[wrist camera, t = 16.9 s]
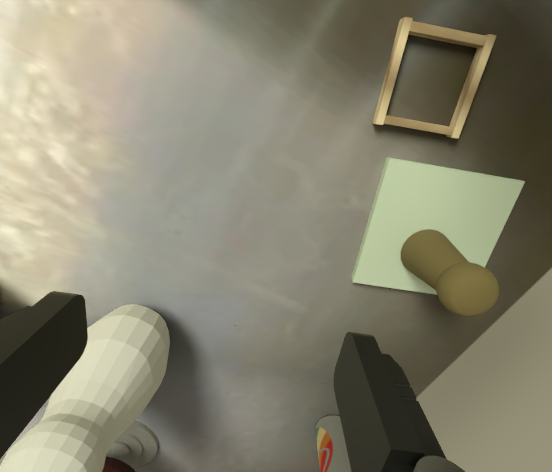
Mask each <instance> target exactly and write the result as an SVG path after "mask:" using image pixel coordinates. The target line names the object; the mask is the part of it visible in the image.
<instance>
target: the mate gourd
mask: <svg viewBox="0 0 552 472" xmlns="http://www.w3.org/2000/svg"><path fill="white" fill-rule="evenodd" d="M157 450H158V440H157V438H156V436H155V434H154V433H153V432H152V431H151V429H149V428H148V427H147V426H145V425H144V424H142V423H140V422H138V421H136V420H135V421H134V422H133V423H132V424H131V425H130V426H129V427H128V428H127V429H126V430H125V431H124V432H123V433H122V434H121V435H120V436H119V437H118V438H117V439H116V440H115V441H114V443H113V444H112V445H111V447H110V448H109V450H108V452H107V454H106V458H105V464H104V468H103V470H102V472H135V471H134V469H133V468H138V467H141V466H144V465H146V464H148V463H149V462H151V461H152V460H153V459H154V457H155V456H156V453H157Z"/></svg>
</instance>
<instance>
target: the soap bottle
mask: <svg viewBox="0 0 552 472" xmlns="http://www.w3.org/2000/svg"><path fill="white" fill-rule="evenodd" d="M87 333H88V340H87V345H86V348H85V350H84V353H83V354H82V356H81V358H80V359H79V360H78V362H77V363H76V364H75V365H74V367H73V368H72V369H71V370H70V372H69V373H68V374H67V375H66V377H65V378H64V379H63V380H62V382H61V383H60V384H59V386H58V387H57V388H56V389H55V391H54V392H53V393H52V394H51V397H50V400H49V403H48V406H47V408H46V411H45V414H44V416H43V418H42V419H41V421H40V422H39V424H37V425H36V426H35V427H33V428H32V429H31V430H29V431H28V432H27V433H26V434H25V435H24V436H23V437H22V438H21V439H20V440H19V441H18V442H17V443H16V444H15V445H14V446H13V447H12V448H11V449H10V450H9V451H8V453H7V455H6V456H5V458H4V460H3V462H2V464H1V466H0V472H102V470H103V468H104V464H105V458H106V454H107V452H108V450H109V448H110V447H111V445H112V444H113V443H114V441H115V440H116V439H117V438H118V437H119V436H120V435H121V434H122V433H123V432H124V431H125V430H126V429H127V428H128V427H129V426H130V425H131V424H132V423H133V422H134V421H135V420H136V419H137V418H138V417H139V416H140V415H141V413H142V412H143V410H144V409H145V408H146V406H147V405H148V403H149V402H150V400H151V399H152V397H153V396H154V394H155V392H156V391H157V389H158V388H159V386H160V385H161V383H162V380H163V378H164V375H165V373H166V367H167V361H168V354H169V347H170V337H169V331H168V328H167V325H166V322H165V321H164V319H163V318H162V317H161V316H160V314H158V313H156V312H155V311H153V310H151V309H150V308H147V307H144V306H140V305H137V304H133V305H124V306H122V307H119V308H117V309H115V310H113V311H112V312H110V313H109V314H107V315H106V316H104V317H103V318H101V319H100V320H98V321H97V322H96V323H94V324H93V325H91V326H90V327H88V328H87Z"/></svg>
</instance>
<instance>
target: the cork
mask: <svg viewBox="0 0 552 472" xmlns="http://www.w3.org/2000/svg"><path fill="white" fill-rule="evenodd" d="M401 261H402V263H403V265H404V266H405V268H406V269H407V270H408V271H410V272H411V273H413V274H414V275H415V276H417V277H418V278H419V279H421V280H422V281H423V282H425V283H426V284H428V285H429V286H430V287H432V288H433V289H434V290H436V292H437V295H438V298H439V300H440V302H441V303H442V304H443V305H444V306H445V307H446V309H448V310H449V311H451V312H453V313H455V314H457V315H461V316H468V317H470V316H478V315H480V314H483V313H485V312H486V311H488V310H489V309H491V308H492V307H493V305H494V304H495V303H496V301H497V299H498V297H499V285H498V282H497V279H496V278H495V277H494V275H493V274H492V273H491V272H490V271H489V270H488V269H486V268H484V267H483V266H481V265H479V264H475V263H470V262H469V261H468V260H467V259H466V258H465V257H464V256H463V255H462V254H461V253H460V252H459V250H458V249H457V248H456V247H455V246H454V245H453V244H452V243H451V242H450V241H449V240H448V238H447V237H446V236H445V235H444V234H442V233H441V232H439V231H437V230H431V229H427V230H421V231H418V232H416V233H414V234H413V235H411V236H410V237H409V238H407V240H406V241H405V243H404V244H403V246H402V249H401Z"/></svg>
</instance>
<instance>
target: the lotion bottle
mask: <svg viewBox="0 0 552 472" xmlns="http://www.w3.org/2000/svg"><path fill="white" fill-rule="evenodd" d="M316 439H317V448H318V456H319V464H320V472H351V467H350V462H349V458H348V453H347V448H346V443H345V439H344V434H343V429H342V424H341V420H340V416H335V415H331V416H326V417H324V418H322V419H320V420H319V421H318V423H317V424H316Z"/></svg>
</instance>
